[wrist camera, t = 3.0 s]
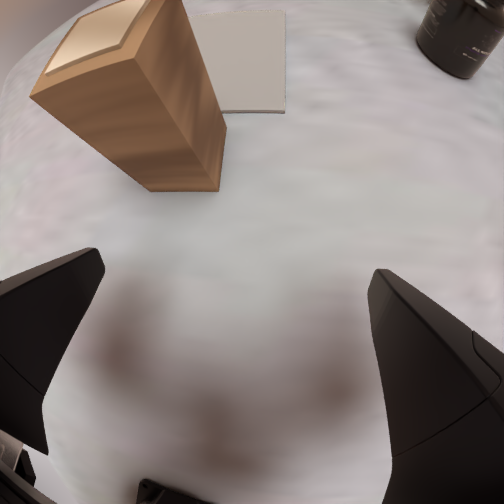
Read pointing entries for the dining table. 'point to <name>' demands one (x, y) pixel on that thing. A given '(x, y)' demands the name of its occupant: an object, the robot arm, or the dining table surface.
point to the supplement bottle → (461, 33)
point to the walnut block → (139, 94)
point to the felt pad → (244, 58)
